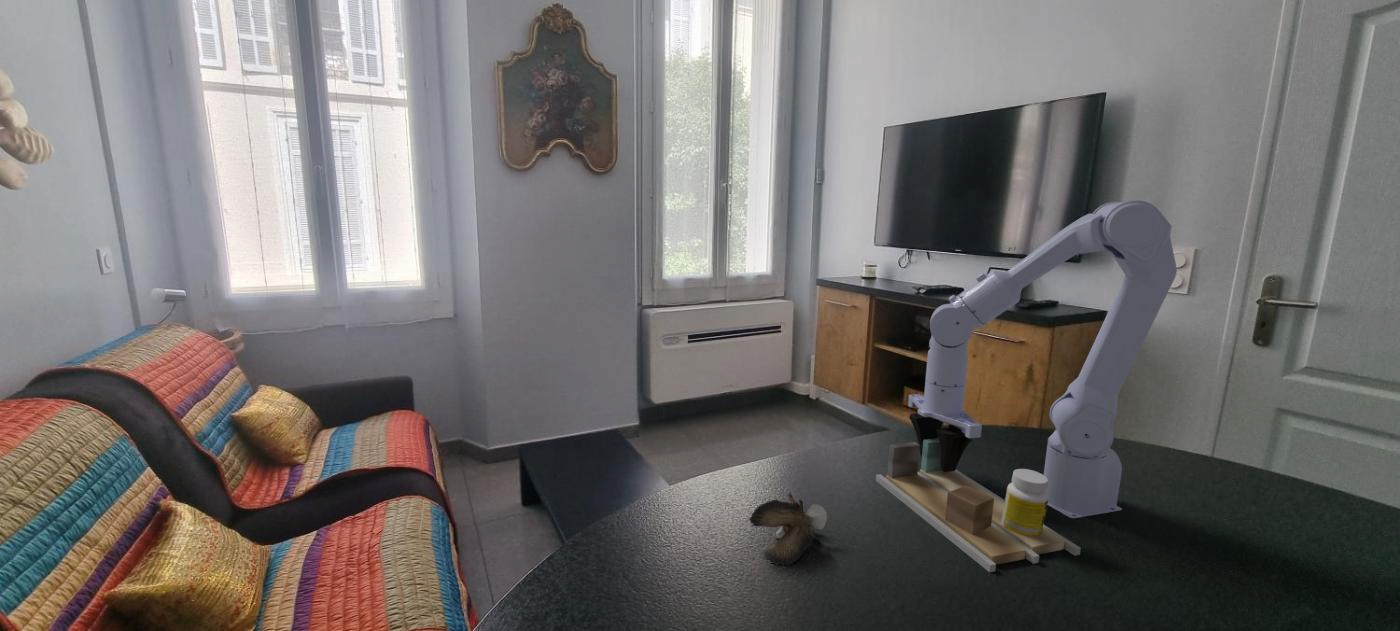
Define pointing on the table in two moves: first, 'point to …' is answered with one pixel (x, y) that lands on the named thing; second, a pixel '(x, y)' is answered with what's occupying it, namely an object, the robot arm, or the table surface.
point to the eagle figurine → (789, 527)
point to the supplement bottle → (1026, 503)
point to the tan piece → (954, 481)
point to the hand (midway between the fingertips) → (937, 463)
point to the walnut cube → (969, 509)
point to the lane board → (958, 539)
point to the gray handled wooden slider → (944, 504)
